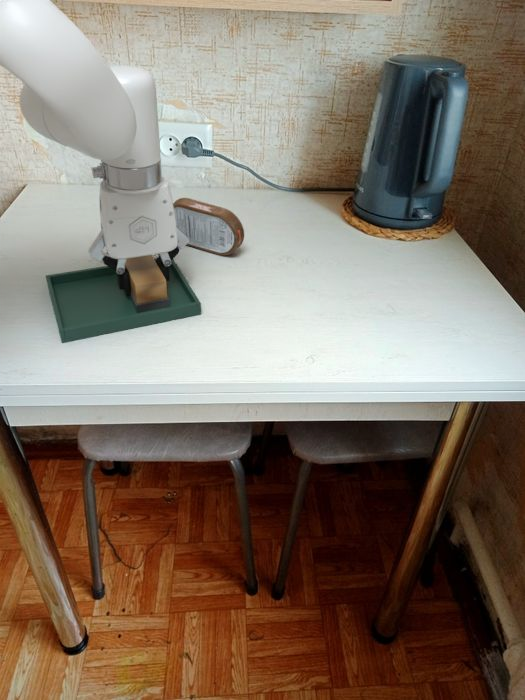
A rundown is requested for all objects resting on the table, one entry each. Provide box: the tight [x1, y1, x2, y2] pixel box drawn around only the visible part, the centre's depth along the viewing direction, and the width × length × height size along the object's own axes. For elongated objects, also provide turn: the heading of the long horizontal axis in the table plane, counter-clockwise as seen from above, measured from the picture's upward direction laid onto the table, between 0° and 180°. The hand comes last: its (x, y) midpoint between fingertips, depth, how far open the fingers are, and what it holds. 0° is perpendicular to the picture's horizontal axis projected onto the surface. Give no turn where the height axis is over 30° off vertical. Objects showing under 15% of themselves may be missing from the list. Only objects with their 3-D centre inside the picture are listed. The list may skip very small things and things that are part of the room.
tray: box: [45, 257, 202, 344], centre depth 78 cm, size 20×15×2 cm
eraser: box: [125, 255, 170, 313], centre depth 78 cm, size 5×10×5 cm, turn 25°
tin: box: [173, 197, 245, 256], centre depth 91 cm, size 15×3×8 cm, turn 65°
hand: (144, 287), depth 79 cm, fingers closed on eraser, 5 cm apart
